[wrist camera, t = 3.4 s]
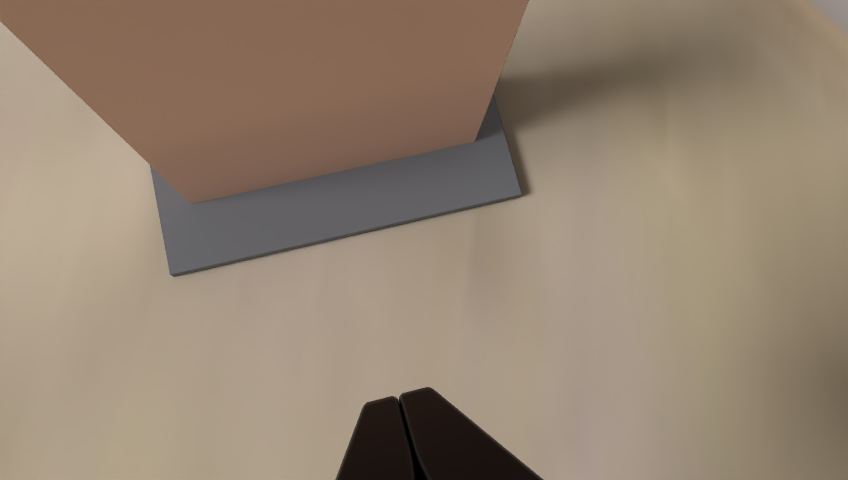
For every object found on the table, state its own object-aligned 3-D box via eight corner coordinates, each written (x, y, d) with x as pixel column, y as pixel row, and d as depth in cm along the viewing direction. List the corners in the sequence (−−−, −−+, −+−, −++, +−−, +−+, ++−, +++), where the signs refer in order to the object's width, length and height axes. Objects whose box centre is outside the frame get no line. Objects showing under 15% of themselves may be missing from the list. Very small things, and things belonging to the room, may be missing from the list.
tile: (474, 141, 23) (575, -122, 11) (191, 204, 22) (-33, -11, 10) (456, 77, 23) (535, -243, 11) (178, 135, 22) (-52, -148, 10)
